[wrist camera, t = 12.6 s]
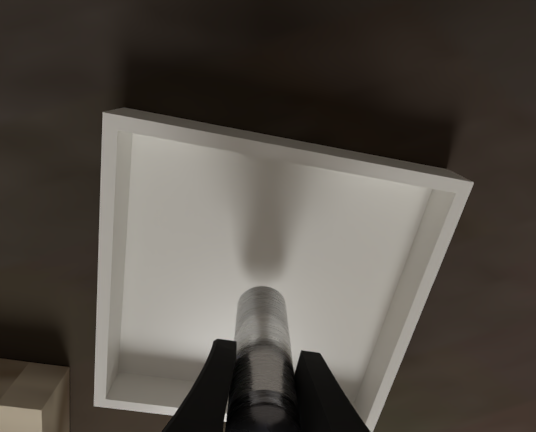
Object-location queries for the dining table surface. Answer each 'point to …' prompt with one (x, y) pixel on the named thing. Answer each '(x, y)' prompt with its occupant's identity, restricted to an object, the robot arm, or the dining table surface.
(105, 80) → the dining table surface
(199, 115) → the dining table surface
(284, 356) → the pin
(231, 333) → the parts tray
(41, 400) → the pin socket
